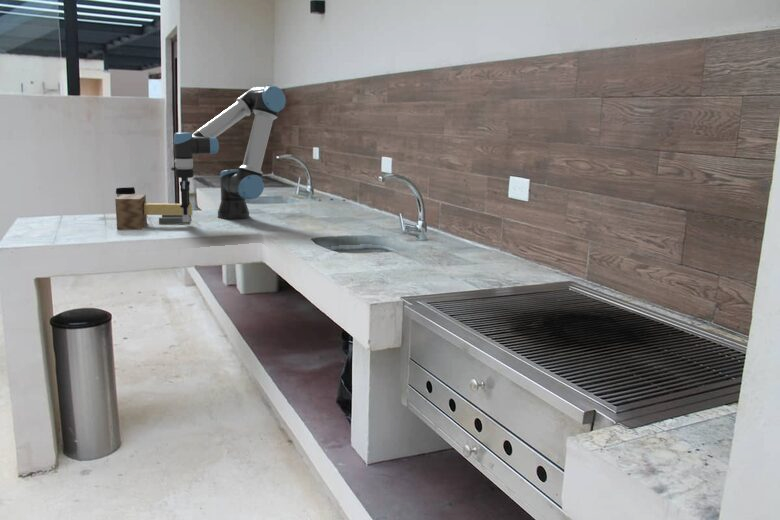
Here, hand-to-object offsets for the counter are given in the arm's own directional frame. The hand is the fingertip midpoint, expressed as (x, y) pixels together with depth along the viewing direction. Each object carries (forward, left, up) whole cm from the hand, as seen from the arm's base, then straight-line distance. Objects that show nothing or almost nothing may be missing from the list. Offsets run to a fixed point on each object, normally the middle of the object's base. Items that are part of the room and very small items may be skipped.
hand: (186, 220), depth 290 cm
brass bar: (+7, 0, +3) cm, 8 cm away
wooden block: (+23, 0, -2) cm, 23 cm away
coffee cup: (+28, -18, -2) cm, 33 cm away
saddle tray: (+6, -12, -2) cm, 13 cm away
